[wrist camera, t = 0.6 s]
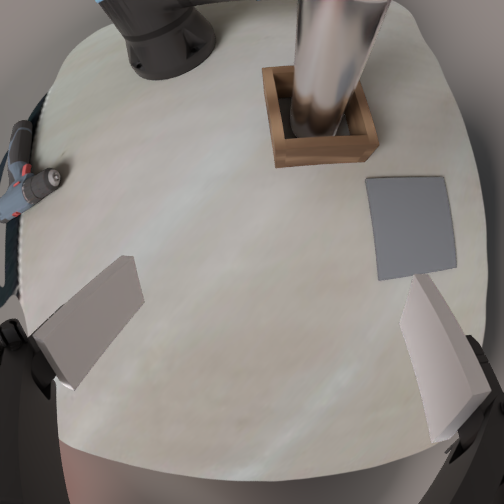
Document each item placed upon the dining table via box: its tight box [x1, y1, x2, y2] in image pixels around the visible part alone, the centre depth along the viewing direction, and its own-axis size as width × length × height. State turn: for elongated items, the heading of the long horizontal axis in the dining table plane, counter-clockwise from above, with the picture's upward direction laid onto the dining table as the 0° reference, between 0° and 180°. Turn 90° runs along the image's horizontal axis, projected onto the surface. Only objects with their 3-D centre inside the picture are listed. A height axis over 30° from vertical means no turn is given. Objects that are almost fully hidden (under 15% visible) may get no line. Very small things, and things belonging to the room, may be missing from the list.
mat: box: [365, 177, 457, 281], centre depth 32 cm, size 13×13×1 cm
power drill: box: [0, 120, 60, 223], centre depth 36 cm, size 5×19×20 cm
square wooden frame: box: [262, 66, 379, 168], centre depth 31 cm, size 12×12×6 cm
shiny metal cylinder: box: [290, 0, 391, 138], centre depth 21 cm, size 6×6×25 cm
